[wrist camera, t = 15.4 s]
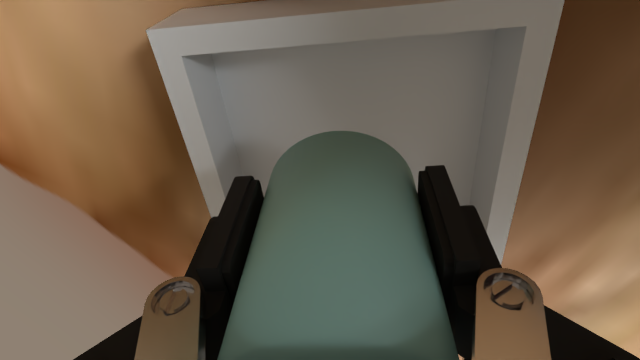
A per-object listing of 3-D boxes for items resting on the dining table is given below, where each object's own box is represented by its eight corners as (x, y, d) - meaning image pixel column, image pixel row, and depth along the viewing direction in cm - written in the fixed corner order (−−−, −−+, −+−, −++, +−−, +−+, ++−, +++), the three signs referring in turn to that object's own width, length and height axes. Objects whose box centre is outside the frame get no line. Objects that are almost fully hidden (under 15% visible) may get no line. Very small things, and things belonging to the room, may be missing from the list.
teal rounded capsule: (255, 135, 12) (173, 338, 6) (418, 125, 12) (488, 336, 6) (281, 249, 15) (240, 461, 9) (412, 245, 14) (455, 466, 9)
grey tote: (181, 8, 16) (145, 30, 14) (526, -27, 15) (567, -11, 12) (261, 285, 27) (250, 330, 24) (470, 282, 25) (485, 330, 22)
